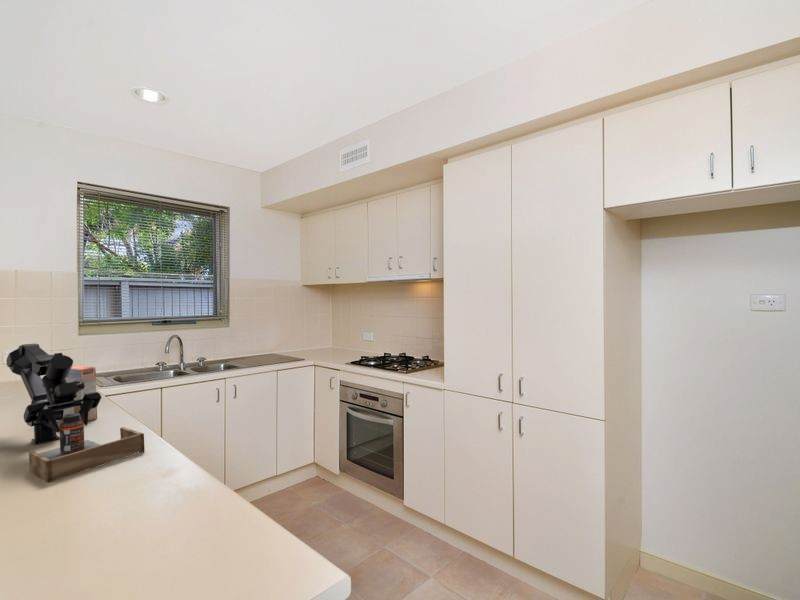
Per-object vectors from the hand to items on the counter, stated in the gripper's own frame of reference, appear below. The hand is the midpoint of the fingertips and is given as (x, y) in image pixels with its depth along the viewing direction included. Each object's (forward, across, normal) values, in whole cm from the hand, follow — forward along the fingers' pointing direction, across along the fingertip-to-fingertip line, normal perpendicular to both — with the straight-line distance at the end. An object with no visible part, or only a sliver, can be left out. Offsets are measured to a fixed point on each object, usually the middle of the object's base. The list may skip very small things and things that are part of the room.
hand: (73, 428), depth 128 cm
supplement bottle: (+4, 0, +7) cm, 8 cm away
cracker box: (-23, +16, +35) cm, 46 cm away
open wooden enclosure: (+13, 0, -2) cm, 13 cm away
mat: (+4, 0, +7) cm, 8 cm away
